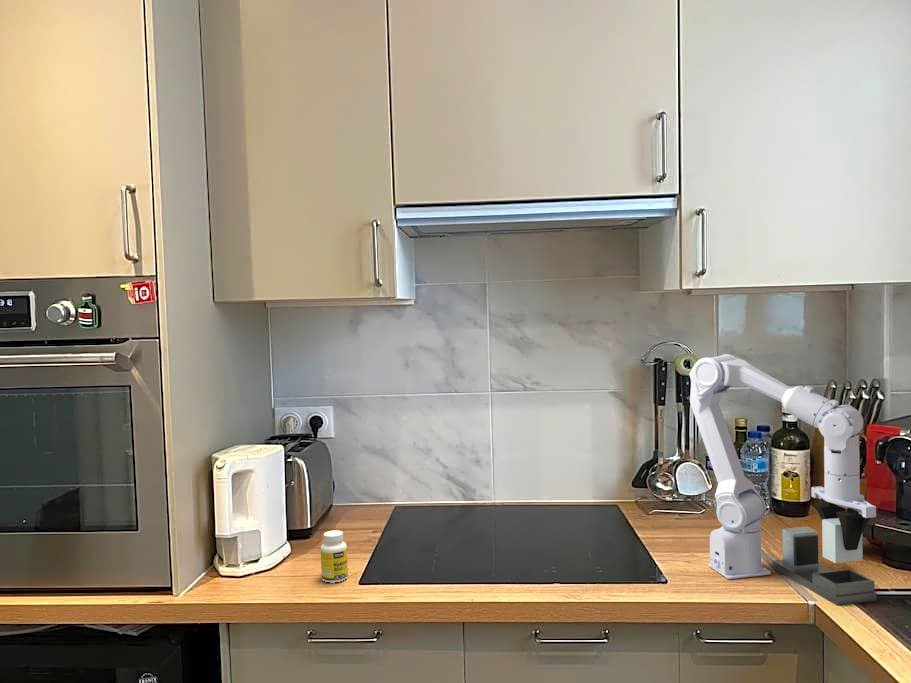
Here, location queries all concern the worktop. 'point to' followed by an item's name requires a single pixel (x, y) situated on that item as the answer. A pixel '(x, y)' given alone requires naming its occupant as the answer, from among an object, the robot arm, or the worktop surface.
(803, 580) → the grey block holder
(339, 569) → the supplement bottle
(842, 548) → the pale green upright block
